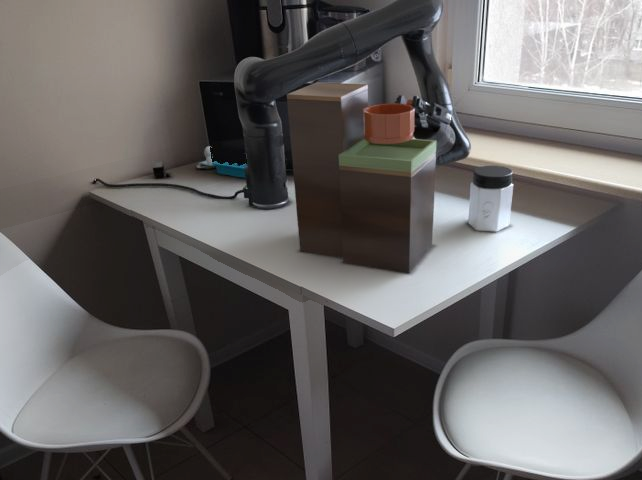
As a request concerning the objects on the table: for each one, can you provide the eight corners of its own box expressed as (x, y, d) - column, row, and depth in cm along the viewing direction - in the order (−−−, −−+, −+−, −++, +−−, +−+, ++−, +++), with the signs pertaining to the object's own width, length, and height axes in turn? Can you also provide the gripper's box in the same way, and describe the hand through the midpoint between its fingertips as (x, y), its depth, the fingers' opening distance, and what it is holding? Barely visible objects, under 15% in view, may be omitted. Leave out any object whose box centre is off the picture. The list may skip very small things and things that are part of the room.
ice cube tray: (237, 162, 187) (235, 152, 186) (291, 170, 178) (290, 160, 176) (211, 173, 179) (209, 162, 178) (266, 182, 170) (265, 171, 168)
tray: (368, 145, 124) (368, 135, 123) (436, 151, 119) (436, 140, 118) (338, 165, 114) (338, 154, 112) (411, 172, 108) (411, 161, 107)
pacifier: (192, 169, 184) (206, 171, 181) (188, 147, 181) (202, 149, 177) (210, 162, 189) (224, 165, 185) (207, 141, 185) (220, 143, 182)
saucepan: (393, 118, 126) (393, 92, 123) (435, 120, 123) (436, 93, 120) (356, 142, 112) (355, 113, 110) (403, 145, 109) (403, 116, 106)
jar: (465, 230, 135) (469, 175, 129) (470, 216, 142) (474, 164, 135) (507, 233, 133) (513, 177, 126) (510, 219, 139) (516, 166, 133)
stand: (325, 230, 139) (316, 82, 122) (432, 245, 129) (438, 87, 112) (295, 255, 128) (281, 96, 112) (409, 273, 119) (412, 103, 102)
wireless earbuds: (154, 180, 176) (152, 168, 174) (155, 172, 182) (153, 161, 180) (171, 178, 177) (169, 166, 175) (171, 171, 183) (169, 160, 181)
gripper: (403, 108, 137) (376, 79, 121) (465, 111, 131) (445, 81, 115) (397, 143, 137) (369, 118, 122) (458, 147, 132) (438, 122, 116)
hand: (407, 100), depth 119 cm, fingers closed on saucepan, 2 cm apart
